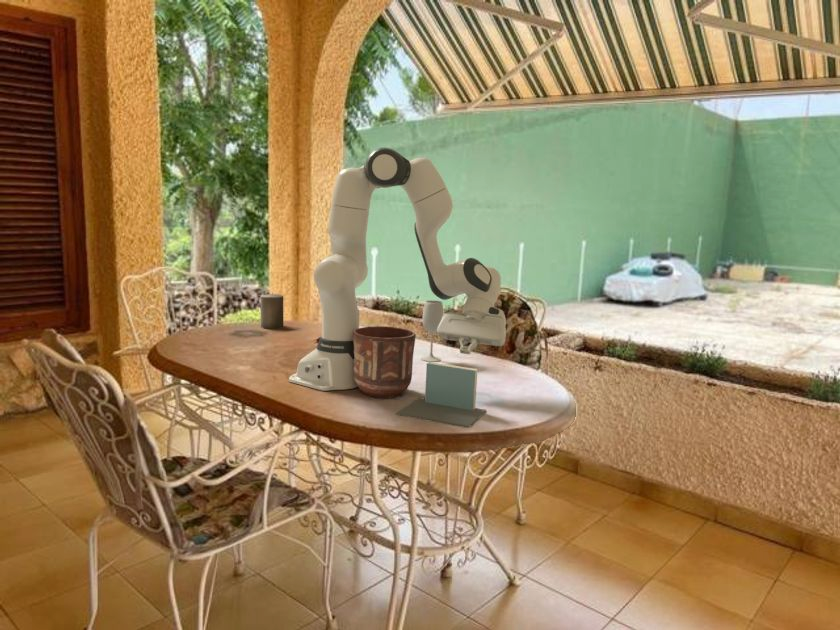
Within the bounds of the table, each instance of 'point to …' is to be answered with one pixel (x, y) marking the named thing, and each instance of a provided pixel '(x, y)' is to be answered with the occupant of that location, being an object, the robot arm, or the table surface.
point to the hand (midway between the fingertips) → (464, 352)
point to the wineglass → (432, 323)
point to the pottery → (383, 360)
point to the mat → (441, 413)
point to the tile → (451, 385)
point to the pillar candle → (272, 311)
